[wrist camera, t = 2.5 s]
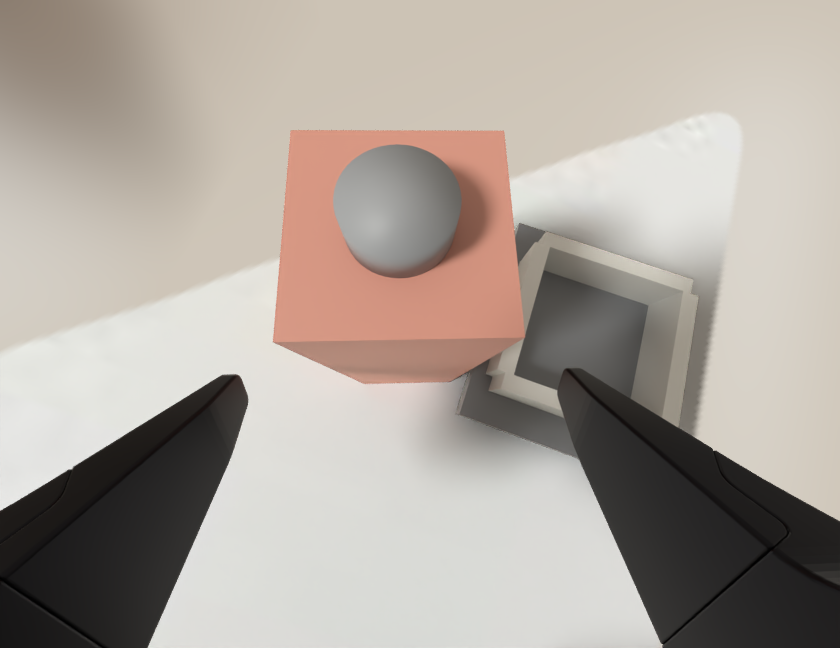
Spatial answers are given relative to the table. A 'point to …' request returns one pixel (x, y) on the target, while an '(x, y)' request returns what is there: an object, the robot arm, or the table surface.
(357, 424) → the table surface
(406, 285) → the pink square bar
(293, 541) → the table surface
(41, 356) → the table surface
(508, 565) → the table surface
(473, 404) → the grey socket base
